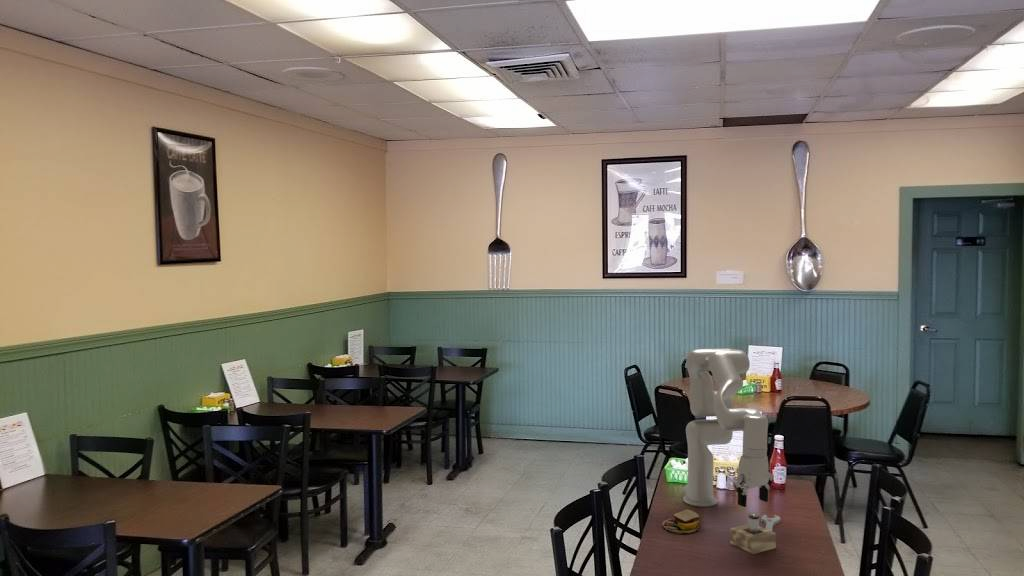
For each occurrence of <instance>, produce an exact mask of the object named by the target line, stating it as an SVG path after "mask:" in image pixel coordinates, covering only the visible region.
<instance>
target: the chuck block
mask: <svg viewBox="0 0 1024 576" xmlns="http://www.w3.org/2000/svg"><path fill="white" fill-rule="evenodd" d="M748 524H749V523H748ZM748 524H743V525H740V526H736V527H731V528H730V539H729V540H730V541H729V542H730V544H731V545H733V546H735V547H737V548H738V549H741V550H743V551H746V552H747V553H750V554H752V555H755V554H759V553H763V552H766V551H770V550H773V549H776V548H777V547H776V546H777V545H776V543H777V533H776V532H774V531H770V530H767V529H765V527H762V526H760V525H759V533H758V534H754V535H753V534H751V533H748Z"/></svg>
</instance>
